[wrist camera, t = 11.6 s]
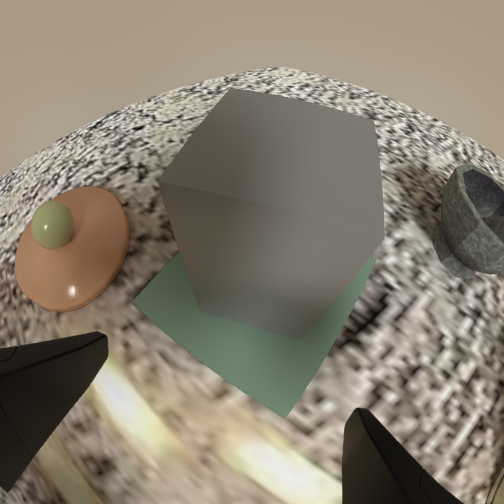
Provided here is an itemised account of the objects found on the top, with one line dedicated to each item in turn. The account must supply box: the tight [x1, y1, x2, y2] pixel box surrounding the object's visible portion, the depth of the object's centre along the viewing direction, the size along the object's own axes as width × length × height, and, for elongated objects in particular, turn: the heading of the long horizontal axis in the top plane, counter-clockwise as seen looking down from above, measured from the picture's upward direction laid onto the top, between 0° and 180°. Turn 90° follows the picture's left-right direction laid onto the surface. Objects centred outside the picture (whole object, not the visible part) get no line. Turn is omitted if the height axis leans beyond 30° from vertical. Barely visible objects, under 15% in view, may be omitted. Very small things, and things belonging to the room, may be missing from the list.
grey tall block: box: [158, 88, 384, 339], centre depth 13 cm, size 6×6×11 cm
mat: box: [132, 252, 376, 418], centre depth 18 cm, size 13×12×1 cm
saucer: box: [15, 186, 130, 312], centre depth 17 cm, size 11×11×5 cm
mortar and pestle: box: [433, 163, 504, 279], centre depth 15 cm, size 11×9×12 cm
